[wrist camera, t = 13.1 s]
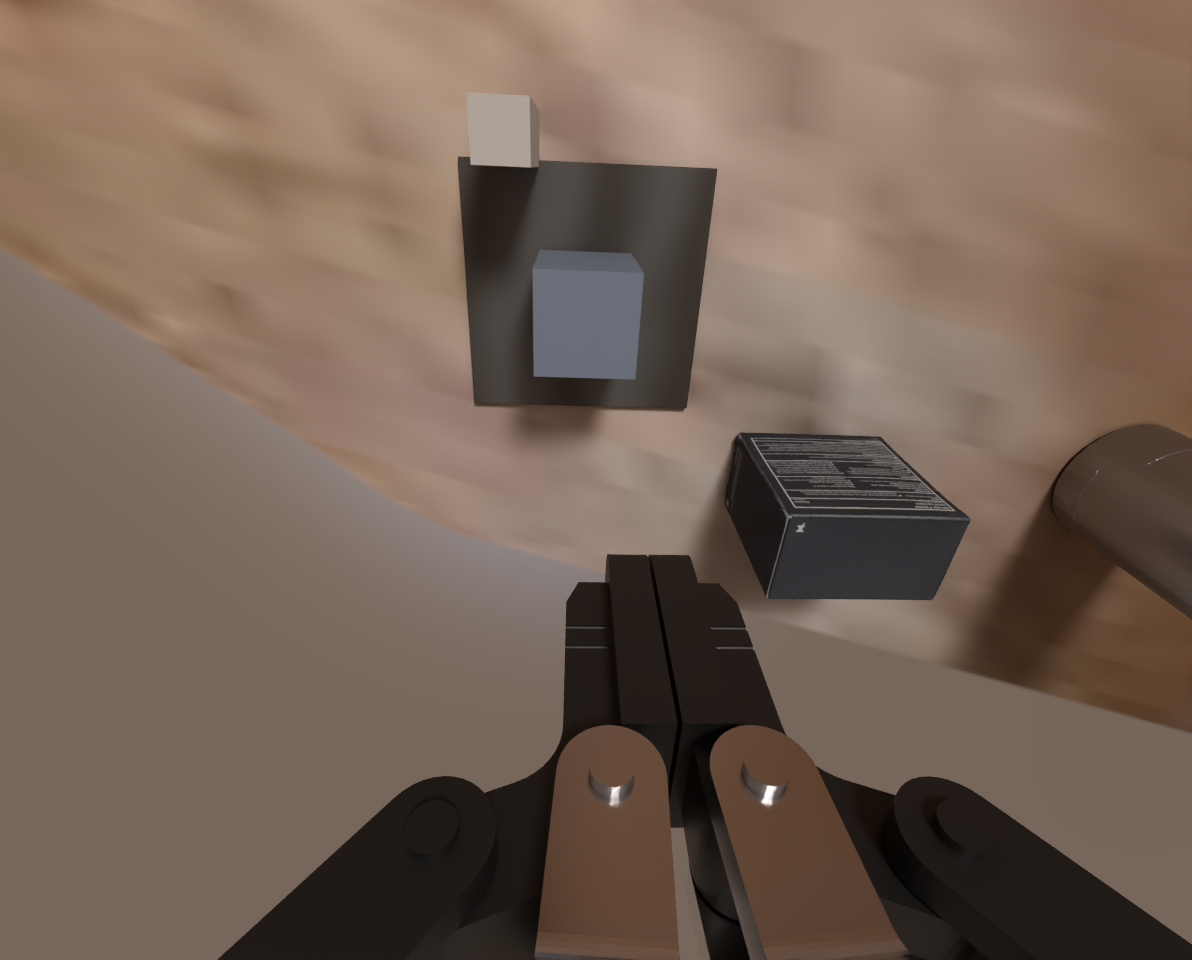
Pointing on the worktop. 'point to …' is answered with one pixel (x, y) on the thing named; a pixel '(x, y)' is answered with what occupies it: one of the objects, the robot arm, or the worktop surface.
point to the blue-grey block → (586, 314)
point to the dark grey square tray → (590, 224)
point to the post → (503, 130)
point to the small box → (839, 518)
